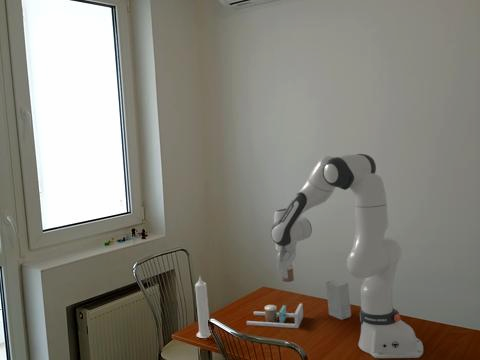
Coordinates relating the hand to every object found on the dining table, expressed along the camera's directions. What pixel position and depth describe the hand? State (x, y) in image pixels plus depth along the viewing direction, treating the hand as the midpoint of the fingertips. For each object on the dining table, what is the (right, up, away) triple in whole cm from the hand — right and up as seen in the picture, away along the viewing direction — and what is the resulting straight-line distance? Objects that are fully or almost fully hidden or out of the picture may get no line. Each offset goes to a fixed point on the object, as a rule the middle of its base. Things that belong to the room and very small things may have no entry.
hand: (287, 275), depth 211 cm
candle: (-35, -22, -16) cm, 44 cm away
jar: (0, -2, 0) cm, 2 cm away
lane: (-6, -18, -7) cm, 20 cm away
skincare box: (+21, -16, -7) cm, 28 cm away
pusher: (-1, -18, -9) cm, 20 cm away
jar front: (-8, -18, -6) cm, 21 cm away
